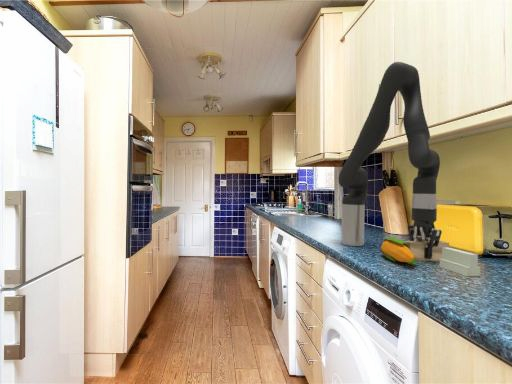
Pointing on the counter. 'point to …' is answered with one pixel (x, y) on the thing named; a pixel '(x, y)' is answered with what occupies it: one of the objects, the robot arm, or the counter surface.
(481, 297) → the counter surface
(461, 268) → the grey rectangular block
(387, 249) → the corn
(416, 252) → the oak bar
